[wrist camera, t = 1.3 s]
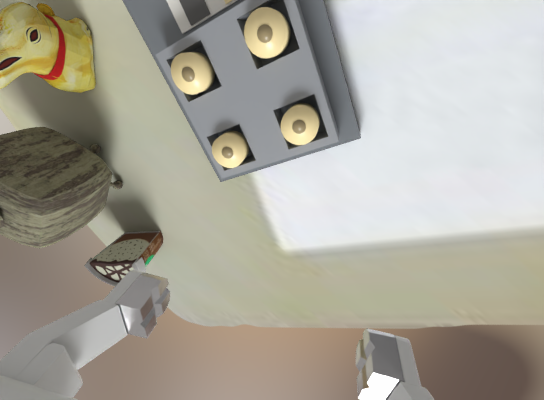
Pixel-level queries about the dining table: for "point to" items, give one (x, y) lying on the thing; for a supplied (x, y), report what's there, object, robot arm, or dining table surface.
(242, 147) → the button
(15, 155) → the tabletop clock
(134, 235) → the food container
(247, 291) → the dining table surface
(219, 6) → the board
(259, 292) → the dining table surface
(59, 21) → the chocolate bunny
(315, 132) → the button
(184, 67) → the button
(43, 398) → the robot arm
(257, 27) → the button
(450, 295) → the dining table surface
